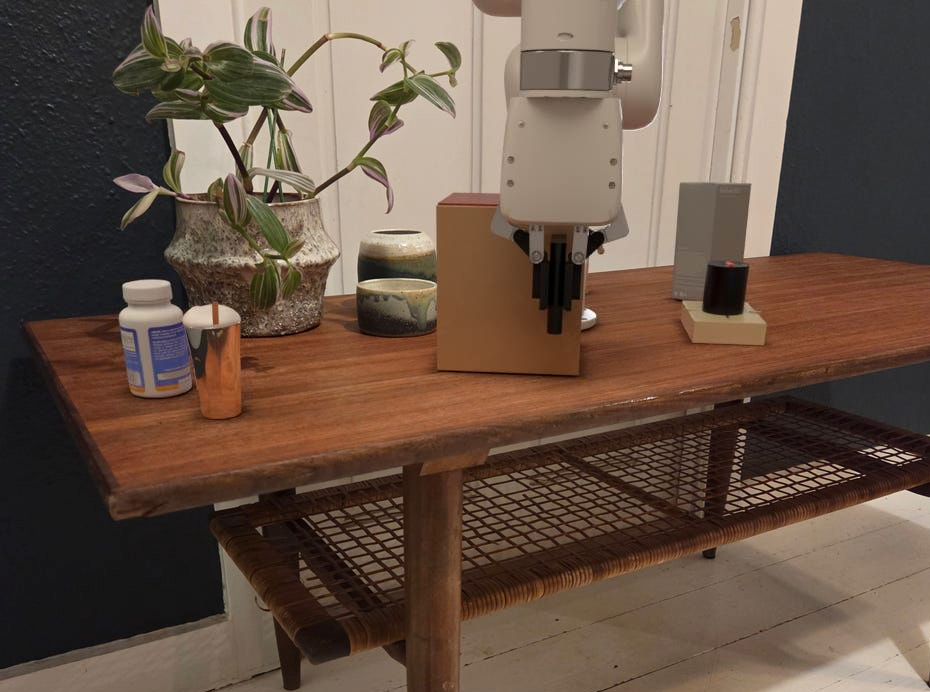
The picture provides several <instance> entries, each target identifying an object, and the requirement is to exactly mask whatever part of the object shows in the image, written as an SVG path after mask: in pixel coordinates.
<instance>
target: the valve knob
mask: <svg viewBox="0 0 930 692" xmlns="http://www.w3.org/2000/svg"><path fill="white" fill-rule="evenodd" d="M749 271H750V264H749V263H747V262H744V261H743V262H737V261H710V262H707V266H706V275H705V284H704V293H703V302H702V311H704V312H707V313H711V314H717V315H738V314H742V313H743V311H744V303H746V302H745V301H746V296H747V295H746V294H747V287H748V279H749Z"/></svg>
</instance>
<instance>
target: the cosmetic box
mask: <svg viewBox="0 0 930 692" xmlns="http://www.w3.org/2000/svg"><path fill="white" fill-rule="evenodd" d="M751 190H752V183H750V182H725V181H723V182H720V181H716V182H715V181H683V182H682V181H681V182H680V183H679V189H678V201H677V204H678V205H677V215H676V229H675V244H674V256H673V257H674V258H673V268H672V280H671V281H672V283H671V293H670V294H671V296H670V297H671V298H672V299H675V300H682V301H703V293H704V284H705V275H706V266H707V262H710V261H737V262H743V263H744V257H745V249H746V248H745V247H746V241H747V239H746V238H747V228H748V219H749V210H750V201H751Z"/></svg>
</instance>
